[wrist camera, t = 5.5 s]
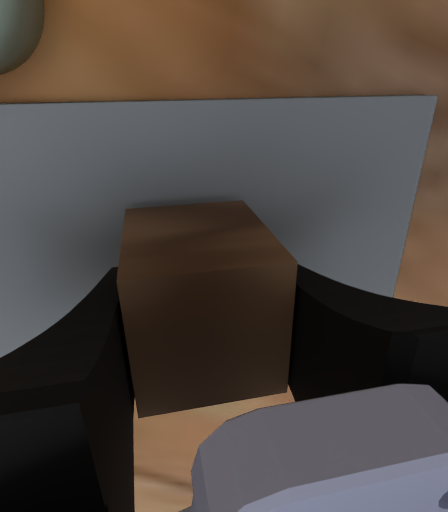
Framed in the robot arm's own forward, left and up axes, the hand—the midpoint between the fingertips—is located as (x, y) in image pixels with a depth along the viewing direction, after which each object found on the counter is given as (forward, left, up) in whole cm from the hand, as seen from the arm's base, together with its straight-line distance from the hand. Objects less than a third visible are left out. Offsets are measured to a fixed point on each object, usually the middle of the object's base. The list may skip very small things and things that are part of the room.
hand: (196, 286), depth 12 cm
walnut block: (0, 0, -2) cm, 2 cm away
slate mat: (-1, 0, -4) cm, 4 cm away
